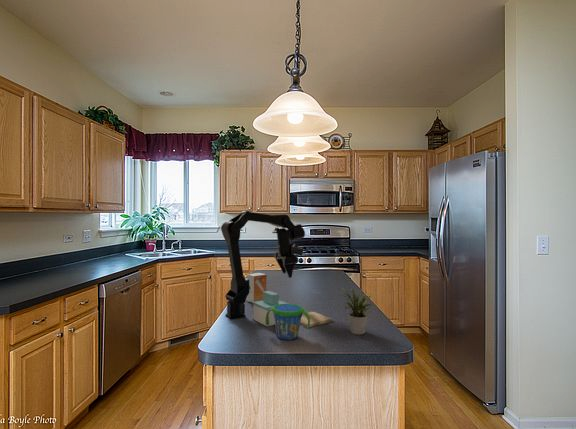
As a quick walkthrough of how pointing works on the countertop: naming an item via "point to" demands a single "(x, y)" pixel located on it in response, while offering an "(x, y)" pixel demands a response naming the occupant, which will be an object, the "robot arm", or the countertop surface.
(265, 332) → the countertop surface
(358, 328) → the house plant
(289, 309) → the snack cup
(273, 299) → the lid
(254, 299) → the small box
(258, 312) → the storage box
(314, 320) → the wooden board
